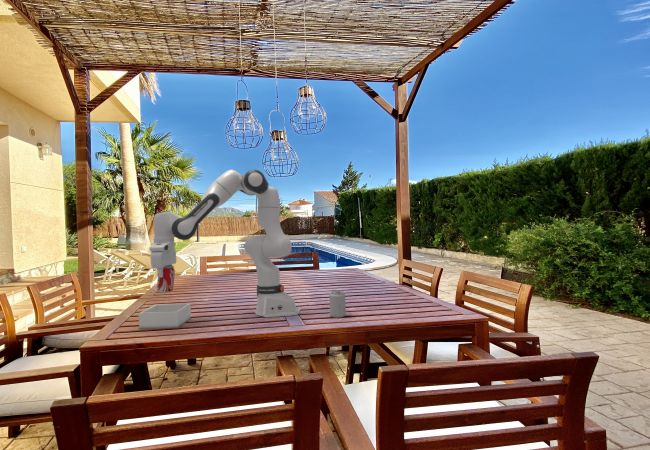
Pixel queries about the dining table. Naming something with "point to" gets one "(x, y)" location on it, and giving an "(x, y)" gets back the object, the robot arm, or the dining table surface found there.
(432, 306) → the dining table surface
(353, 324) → the dining table surface
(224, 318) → the dining table surface
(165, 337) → the dining table surface
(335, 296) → the can
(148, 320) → the bin
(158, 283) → the soda can
